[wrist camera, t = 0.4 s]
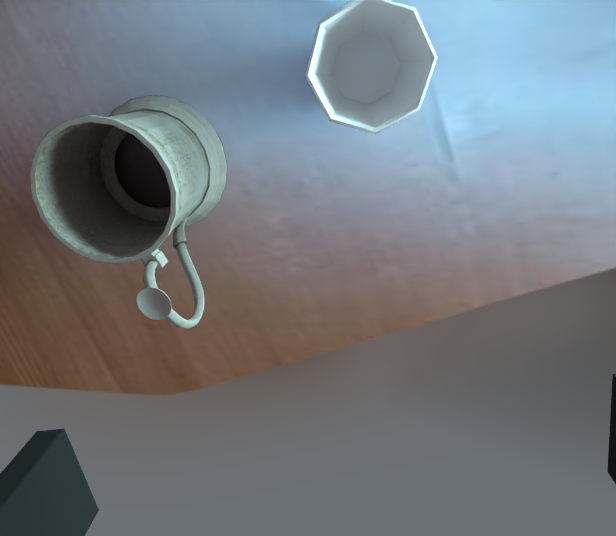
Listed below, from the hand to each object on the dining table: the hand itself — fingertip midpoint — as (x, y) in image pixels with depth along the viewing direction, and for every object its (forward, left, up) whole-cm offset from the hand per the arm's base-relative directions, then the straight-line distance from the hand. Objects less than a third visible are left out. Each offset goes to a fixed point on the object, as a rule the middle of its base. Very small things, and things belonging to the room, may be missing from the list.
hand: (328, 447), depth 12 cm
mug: (-2, -12, -27) cm, 30 cm away
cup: (-10, +3, -27) cm, 29 cm away
